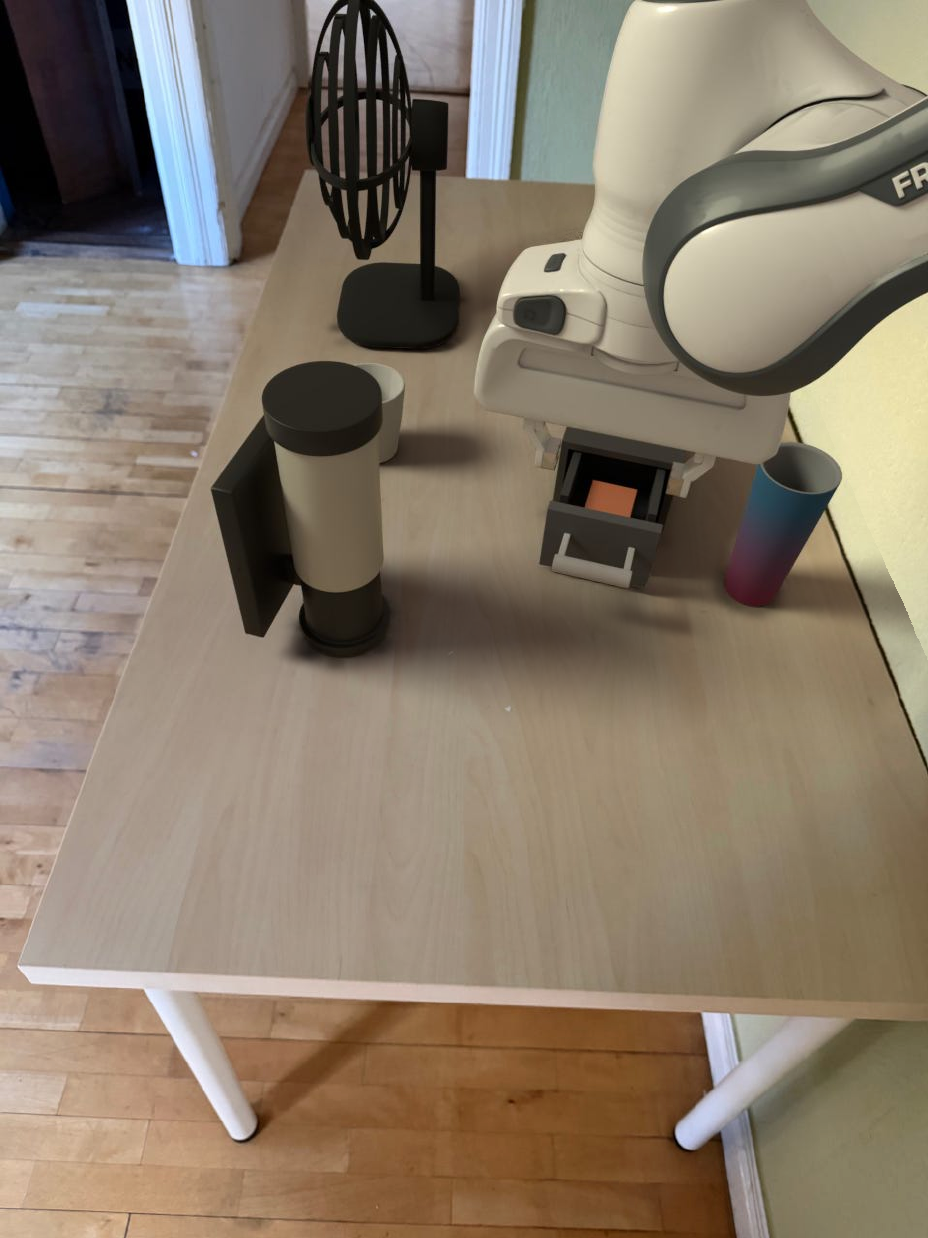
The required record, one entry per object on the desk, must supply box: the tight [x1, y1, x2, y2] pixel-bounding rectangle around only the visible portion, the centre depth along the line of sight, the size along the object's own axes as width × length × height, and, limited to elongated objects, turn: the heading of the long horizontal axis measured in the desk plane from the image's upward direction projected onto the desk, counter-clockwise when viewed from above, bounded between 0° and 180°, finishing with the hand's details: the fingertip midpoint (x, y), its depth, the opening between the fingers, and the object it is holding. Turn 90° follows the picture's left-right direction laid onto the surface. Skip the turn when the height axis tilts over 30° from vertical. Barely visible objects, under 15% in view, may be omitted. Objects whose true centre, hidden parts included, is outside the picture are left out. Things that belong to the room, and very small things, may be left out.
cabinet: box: [552, 426, 686, 536], centre depth 91 cm, size 15×12×9 cm
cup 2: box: [723, 441, 843, 608], centre depth 79 cm, size 7×7×15 cm
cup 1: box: [353, 362, 406, 464], centre depth 93 cm, size 8×10×8 cm
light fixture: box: [210, 360, 391, 658], centre depth 71 cm, size 12×11×25 cm
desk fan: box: [305, 0, 461, 349], centre depth 102 cm, size 27×18×35 cm, turn 179°
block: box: [584, 480, 637, 518], centre depth 85 cm, size 4×4×4 cm
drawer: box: [538, 450, 666, 589], centre depth 84 cm, size 18×10×7 cm, turn 164°
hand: (610, 477), depth 63 cm, fingers open, 8 cm apart
